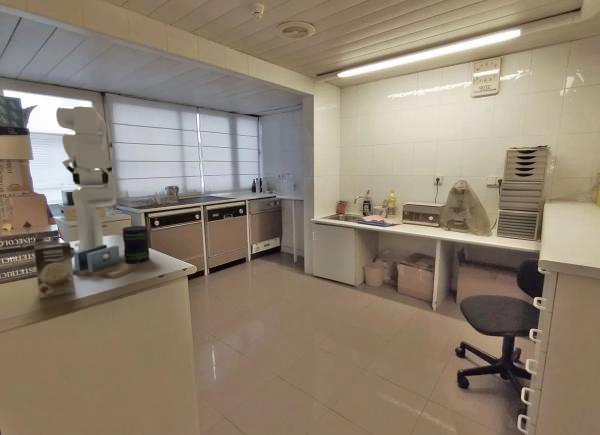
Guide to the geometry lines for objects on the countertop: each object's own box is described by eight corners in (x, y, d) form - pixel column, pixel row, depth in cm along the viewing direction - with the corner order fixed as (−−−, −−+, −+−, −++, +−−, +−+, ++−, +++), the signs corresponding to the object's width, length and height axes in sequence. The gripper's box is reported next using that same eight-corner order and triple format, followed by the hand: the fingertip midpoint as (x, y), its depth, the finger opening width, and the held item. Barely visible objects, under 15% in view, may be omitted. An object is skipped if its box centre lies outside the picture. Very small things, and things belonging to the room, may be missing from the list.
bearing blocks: (75, 270, 114) (73, 252, 112) (104, 261, 126) (102, 244, 125) (92, 272, 112) (91, 254, 111) (119, 262, 124) (118, 245, 123)
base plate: (70, 273, 115) (70, 269, 115) (97, 264, 126) (97, 260, 126) (114, 278, 111) (113, 274, 110) (137, 268, 122) (137, 264, 122)
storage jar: (154, 259, 135) (152, 227, 132) (133, 265, 126) (131, 231, 124) (140, 256, 139) (138, 225, 137) (119, 261, 131) (117, 228, 128)
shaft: (58, 260, 120) (56, 248, 119) (70, 256, 125) (68, 245, 124) (103, 264, 115) (102, 252, 114) (113, 261, 120) (112, 249, 119)
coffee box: (38, 299, 92) (32, 249, 90) (39, 292, 97) (32, 245, 94) (75, 291, 98) (70, 245, 96) (74, 286, 103) (69, 241, 100)
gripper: (107, 141, 124) (110, 182, 126) (56, 137, 109) (61, 183, 112) (116, 141, 119) (119, 183, 122) (64, 136, 105) (69, 184, 108)
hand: (91, 183), depth 117 cm, fingers open, 9 cm apart
